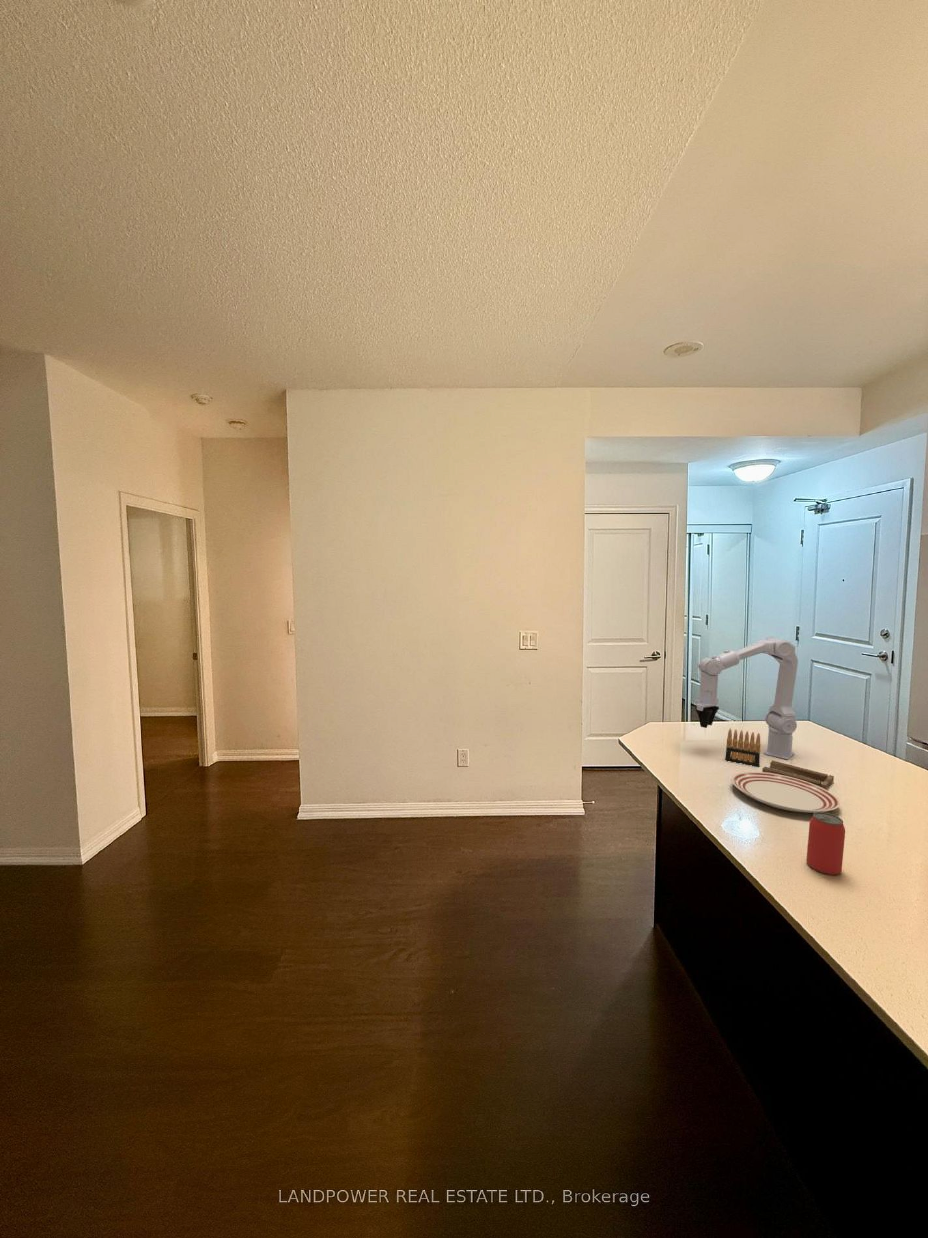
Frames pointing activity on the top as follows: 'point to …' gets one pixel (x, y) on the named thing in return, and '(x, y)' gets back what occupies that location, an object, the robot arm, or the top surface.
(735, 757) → the ammunition clip
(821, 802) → the dinner plate
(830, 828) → the beer can
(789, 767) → the guide rails
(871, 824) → the top surface
